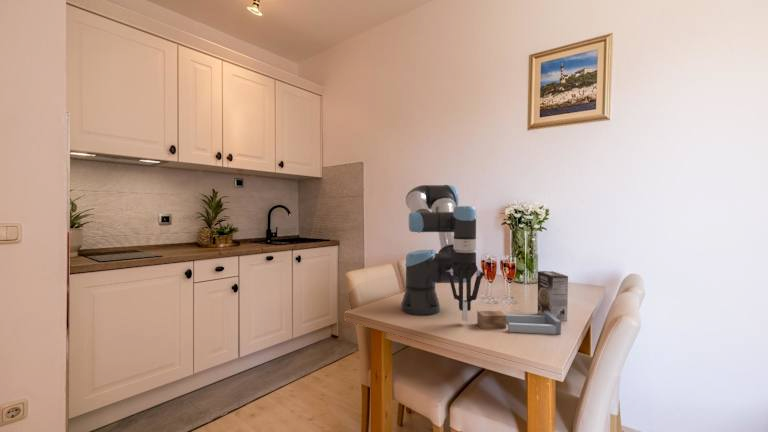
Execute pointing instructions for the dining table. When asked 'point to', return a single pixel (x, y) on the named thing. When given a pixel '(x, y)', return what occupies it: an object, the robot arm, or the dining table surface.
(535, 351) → the dining table surface
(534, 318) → the guide
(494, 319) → the brown block
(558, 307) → the coffee box
